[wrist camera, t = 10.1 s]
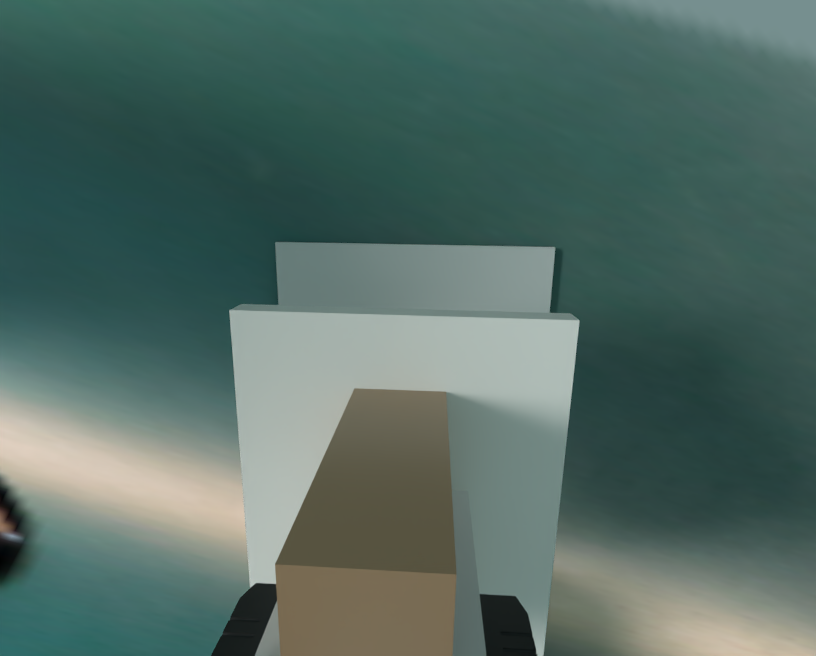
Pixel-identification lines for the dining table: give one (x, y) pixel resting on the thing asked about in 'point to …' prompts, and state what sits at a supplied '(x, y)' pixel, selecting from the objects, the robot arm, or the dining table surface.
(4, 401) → the dining table surface
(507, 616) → the robot arm
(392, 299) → the tray
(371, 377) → the lid
